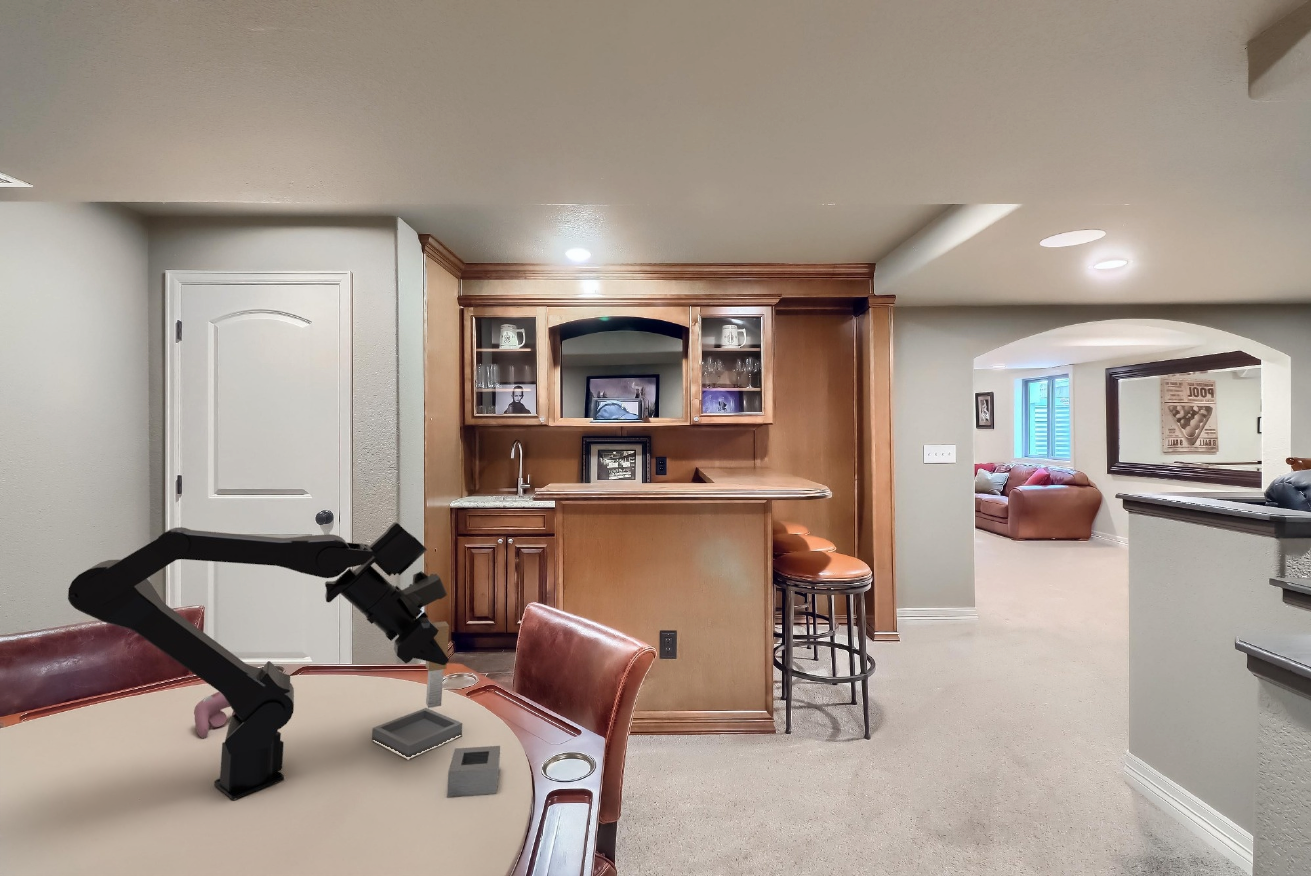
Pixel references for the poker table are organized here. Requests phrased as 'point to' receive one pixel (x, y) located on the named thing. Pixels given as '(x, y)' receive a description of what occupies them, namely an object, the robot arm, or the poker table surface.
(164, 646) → the robot arm
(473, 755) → the block
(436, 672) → the wooden handled tool
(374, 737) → the tool tray
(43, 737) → the poker table surface
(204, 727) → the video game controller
